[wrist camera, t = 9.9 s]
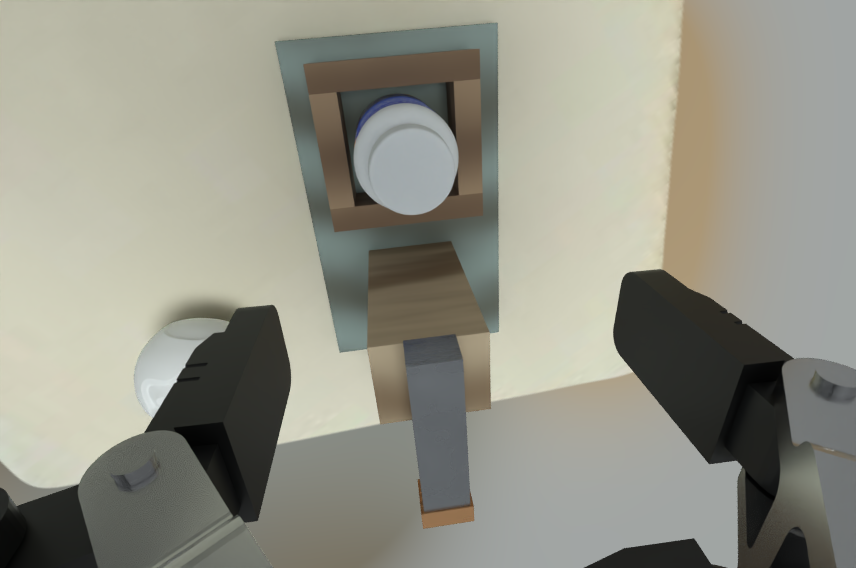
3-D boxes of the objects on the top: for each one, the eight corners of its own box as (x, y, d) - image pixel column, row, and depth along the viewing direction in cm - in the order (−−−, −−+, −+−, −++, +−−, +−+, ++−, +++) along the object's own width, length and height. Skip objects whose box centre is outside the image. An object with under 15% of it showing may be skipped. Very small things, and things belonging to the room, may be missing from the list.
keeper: (399, 339, 21) (402, 369, 19) (458, 332, 21) (466, 360, 19) (419, 493, 26) (423, 528, 24) (466, 486, 26) (474, 520, 24)
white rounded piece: (234, 393, 38) (204, 468, 31) (144, 351, 35) (89, 423, 28) (285, 328, 35) (265, 394, 29) (194, 277, 33) (147, 337, 26)
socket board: (278, 41, 26) (206, 33, 15) (493, 23, 27) (581, 2, 16) (340, 345, 37) (326, 478, 25) (495, 325, 38) (550, 445, 26)
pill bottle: (338, 123, 28) (324, 154, 19) (412, 74, 27) (431, 83, 19) (386, 195, 30) (392, 250, 22) (455, 152, 30) (489, 192, 21)
